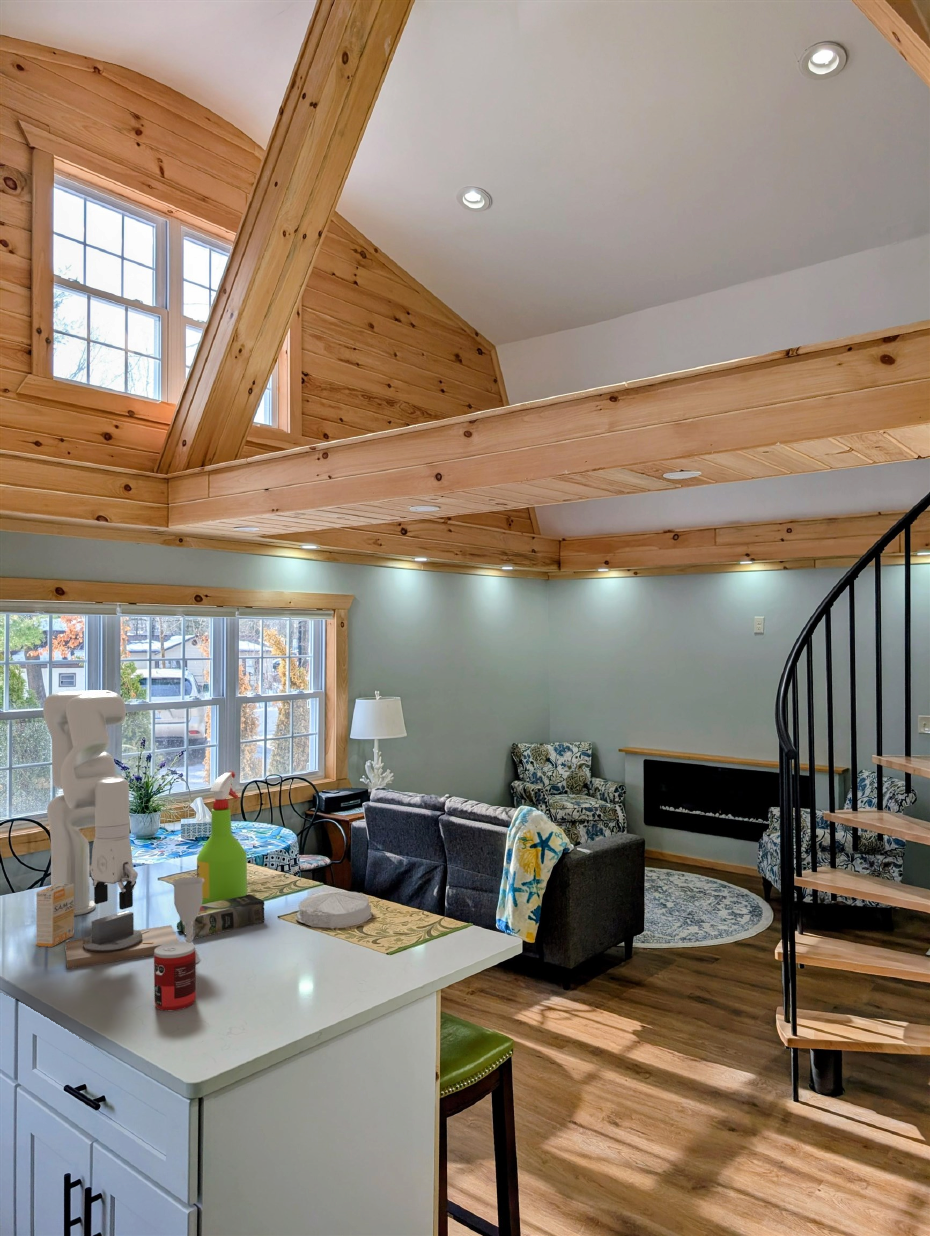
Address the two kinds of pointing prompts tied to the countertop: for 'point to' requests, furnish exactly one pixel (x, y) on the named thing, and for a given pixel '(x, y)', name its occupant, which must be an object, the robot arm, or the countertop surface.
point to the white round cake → (334, 909)
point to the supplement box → (55, 914)
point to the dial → (113, 933)
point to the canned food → (174, 975)
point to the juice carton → (226, 916)
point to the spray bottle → (222, 850)
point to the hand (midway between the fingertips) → (113, 905)
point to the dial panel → (146, 947)
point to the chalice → (188, 902)
